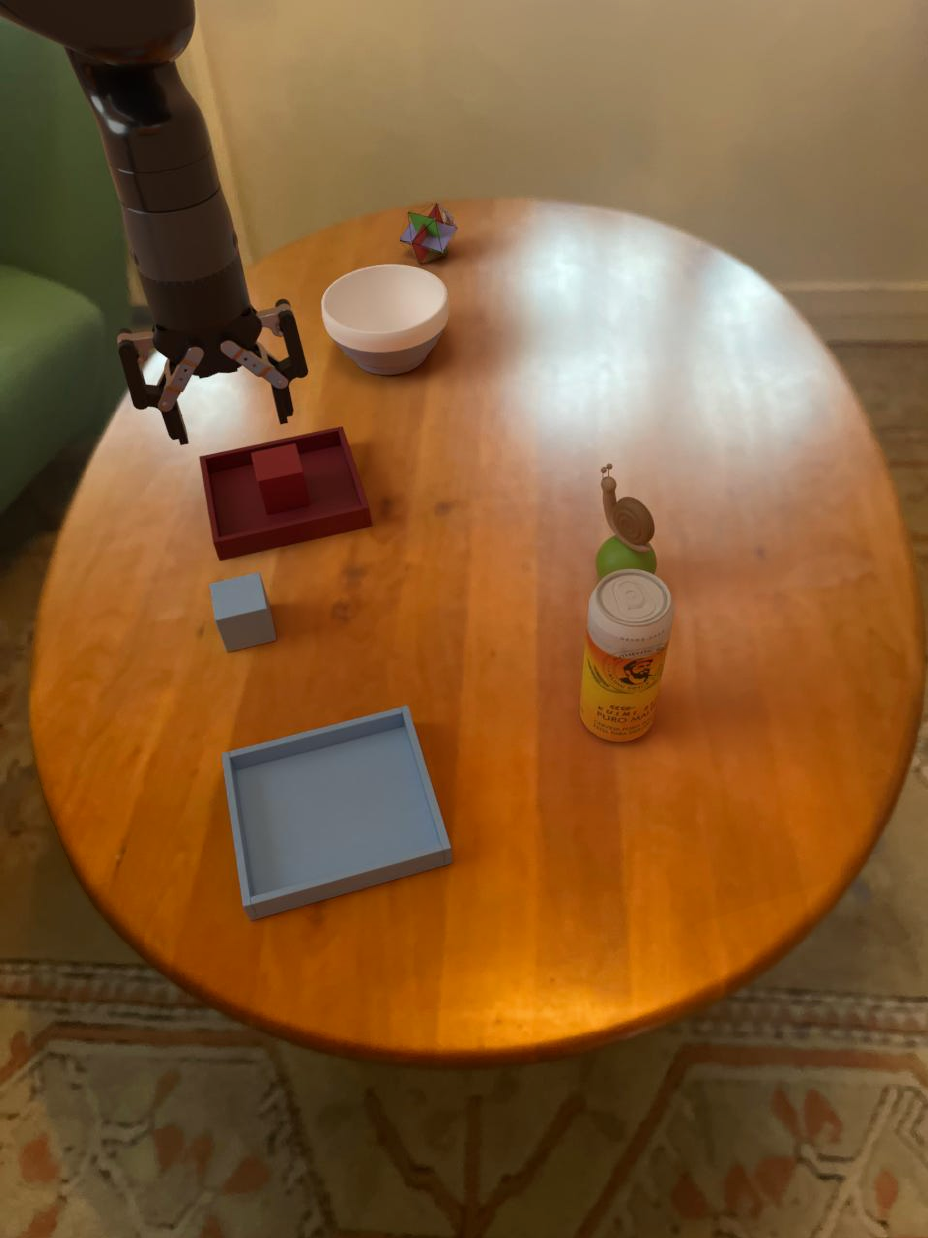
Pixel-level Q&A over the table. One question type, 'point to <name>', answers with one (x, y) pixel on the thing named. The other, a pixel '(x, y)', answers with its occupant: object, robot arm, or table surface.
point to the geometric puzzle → (429, 232)
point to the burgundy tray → (252, 530)
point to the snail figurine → (625, 533)
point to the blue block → (242, 612)
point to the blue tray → (332, 812)
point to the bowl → (386, 316)
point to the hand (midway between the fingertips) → (233, 428)
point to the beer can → (625, 653)
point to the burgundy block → (280, 478)
